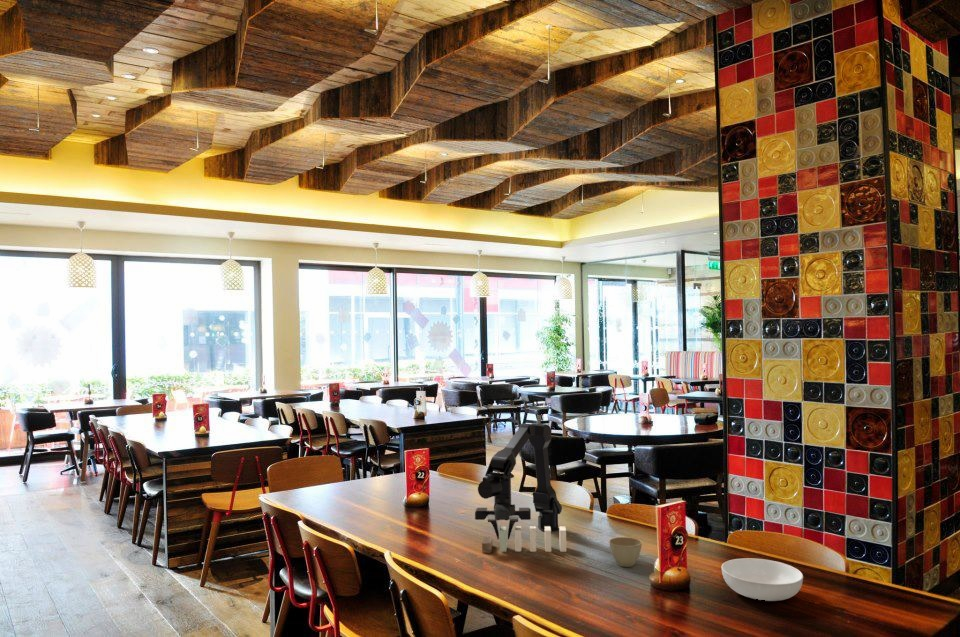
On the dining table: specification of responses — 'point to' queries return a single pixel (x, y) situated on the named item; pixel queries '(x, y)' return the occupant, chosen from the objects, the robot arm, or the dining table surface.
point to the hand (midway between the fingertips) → (503, 539)
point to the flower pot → (625, 550)
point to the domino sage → (503, 539)
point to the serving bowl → (762, 578)
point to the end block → (487, 545)
